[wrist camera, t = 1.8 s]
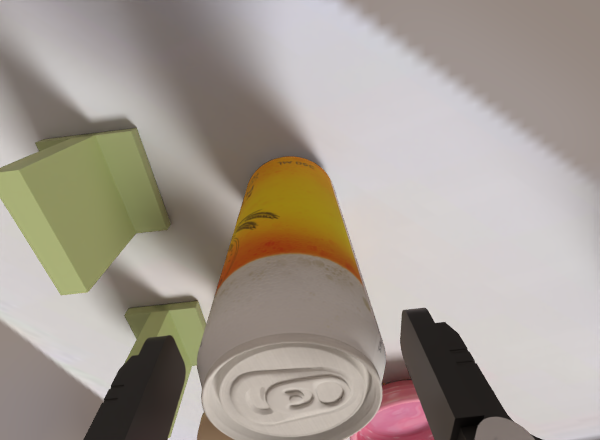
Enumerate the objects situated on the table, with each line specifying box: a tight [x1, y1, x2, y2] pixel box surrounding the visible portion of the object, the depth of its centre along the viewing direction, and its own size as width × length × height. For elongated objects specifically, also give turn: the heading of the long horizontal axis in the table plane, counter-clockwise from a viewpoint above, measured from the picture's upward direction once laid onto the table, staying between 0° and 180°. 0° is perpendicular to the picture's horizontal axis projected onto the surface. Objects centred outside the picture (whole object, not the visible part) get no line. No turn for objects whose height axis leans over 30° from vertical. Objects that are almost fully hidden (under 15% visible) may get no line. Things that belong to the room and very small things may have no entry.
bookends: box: [0, 128, 206, 438], centre depth 22 cm, size 6×22×7 cm, turn 6°
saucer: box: [350, 380, 434, 440], centre depth 34 cm, size 12×12×3 cm
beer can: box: [197, 156, 386, 440], centre depth 16 cm, size 6×6×15 cm
